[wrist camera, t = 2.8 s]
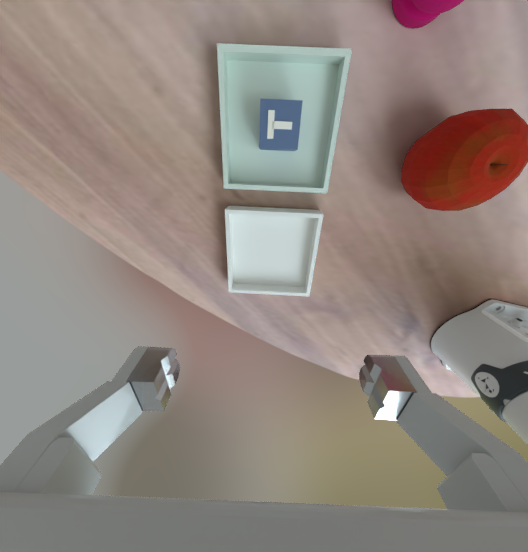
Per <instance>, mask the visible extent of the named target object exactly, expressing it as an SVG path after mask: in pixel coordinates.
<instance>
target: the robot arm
mask: <svg viewBox="0 0 528 552" xmlns="http://www.w3.org/2000/svg"><path fill="white" fill-rule="evenodd" d="M431 349H432V352H433V353H434V354H435V355H436V356H437V357H438V358H440V359H441V360H442V363H443V365H444V367H445V368H446V369H448V370H452V371H453V372H454V373H455V374H456V375H457V376H458V377H459V378H460V379H461V380H462V381H463V382H464V383H465V384H466V385H467V386H468V387H469V388H470V389H471V390H473V391H474V392H475V393H476V394H477V395H478V396H480V397H481V398H482V400H483V401H484V402H485V403H486V404H487V405H488V406H489V409H490V410H491V411H492V412H493V413H495V414H496V415H497V416H498V417H499V418H500V419H501V420H502V421H504V422H507V423H508V424H509V425H510V426H511V428H513V430H514V431H515V432H516V433H517V434H518V435H519V436H520V438H521V439H522V440H523V441H524V442H525V443H526V444H527V445H528V307H524V306H519V305H515V304H511V303H507V302H503V301H498V300H489V301H486V302H485V303H483V304H481V305H480V306H478V307H477V308H475V309H473V310H471V311H468V312H466V313H463V314H460V315H458V316H456V317H454V318H452V319H451V320H449V321H448V322H446V323H445V324H444V325H442V326H441V327H440V328H439V329H438V330H437V332H436V333H435V334H434V336H433V338H432V341H431ZM176 355H177V353H176V350H175V349H174V348H161V347H160V348H159V347H141V346H140V347H139V346H138V347H137V348H135V349H134V350H133V352H132V353H131V355H130V356H129V357H128V359H127V360H126V362H125V363H124V364H123V366H122V367H121V369H120V370H119V371H118V373H117V374H116V376H115V377H114V378H113V380H112V381H111V382H108V381H107V382H106V383H104V384H103V385H101V386H100V387H98V388H97V389H95V390H94V391H92V392H91V393H89V394H88V395H86V396H85V397H83V398H82V399H80V400H79V401H77V402H76V403H74V404H73V405H71V406H70V407H68V408H67V409H65V410H64V411H62V412H61V413H59V414H58V415H56V416H55V417H53V418H51V419H50V420H49V421H47V422H45V423H44V424H42V425H41V426H40V427H38V428H36V429H35V430H33V431H32V432H30V433H29V434H28V435H27V436H26V437H25V438H24V439H23V440H22V441H21V442H20V443H19V445H18V446H17V447H16V448H15V449H14V450H13V451H12V453H11V454H10V455H9V456H8V457H7V458H6V459H5V460H4V462H3V463H2V464H1V465H0V552H528V463H527V462H526V461H525V459H524V458H523V457H522V456H521V455H520V453H518V452H517V451H515V450H514V449H513V448H511V447H510V446H508V445H507V444H506V443H504V442H503V441H501V440H500V439H499V438H497V437H496V436H494V435H493V434H492V433H490V432H489V431H487V430H486V429H485V428H483V427H482V426H481V425H479V424H478V423H476V422H475V421H474V420H472V419H471V418H469V417H468V416H467V415H465V414H464V413H462V412H461V411H460V410H458V409H457V408H456V407H454V406H453V405H451V404H450V403H448V402H447V401H446V400H444V399H443V398H442V397H440V396H439V395H437V394H435V393H432V392H431V391H430V390H429V388H428V387H427V385H426V384H425V382H424V381H423V380H422V378H421V377H420V375H419V374H418V373H417V371H416V370H415V368H414V367H413V365H412V364H411V363H410V361H409V360H408V358H406V357H405V356H390V355H367V356H366V357H365V359H364V363H365V365H364V366H363V367H361V369H360V372H359V380H360V384H361V387H362V390H363V392H365V393H366V394H367V395H368V396H369V398H368V401H367V402H368V404H369V407H370V409H371V412H372V414H373V417H374V419H382V420H396V422H397V423H398V424H399V425H400V426H401V427H402V428H403V430H404V431H405V432H406V433H407V434H408V435H409V436H410V437H411V438H412V439H413V440H414V441H415V442H416V443H417V445H418V446H419V447H420V448H421V449H422V450H423V451H424V452H425V453H426V454H427V455H428V456H429V457H430V458H431V460H432V461H433V462H434V463H435V464H436V465H437V466H438V467H439V468H440V469H441V470H442V471H443V472H444V473H445V475H447V477H446V478H445V479H444V480H443V481H441V483H439V485H438V488H437V489H438V491H439V493H440V495H441V497H442V499H443V501H444V503H445V505H446V507H447V509H431V508H429V509H428V508H405V507H379V506H378V507H377V506H354V505H329V504H304V503H278V502H253V501H228V500H201V499H177V498H151V497H124V496H101V495H99V496H98V495H92V493H93V491H94V489H95V487H96V485H97V483H98V481H99V480H100V478H101V471H100V470H99V468H98V467H97V466H96V465H95V464H94V462H93V461H94V460H95V459H96V458H97V457H98V456H99V455H100V454H101V453H102V452H103V451H104V450H105V449H106V448H107V447H108V446H109V445H110V444H111V443H112V442H113V441H114V440H115V439H116V438H117V437H118V436H119V435H120V434H121V433H122V432H123V431H124V430H125V429H126V428H127V427H128V426H129V425H130V424H131V423H132V422H133V421H134V420H136V419H137V418H138V416H140V415H141V414H142V411H164V410H165V408H166V406H167V403H168V401H169V398H170V396H171V392H170V388H172V387H173V386H174V385H175V384H176V381H177V379H178V376H179V371H180V367H179V366H180V365H179V362H178V360H177V359H175V357H176Z"/></svg>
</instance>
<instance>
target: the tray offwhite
mask: <svg viewBox="0 0 528 552" xmlns="http://www.w3.org/2000/svg"><path fill="white" fill-rule="evenodd" d="M322 220H323V213H322V212H321V211H320V210H311V209H290V208H269V207H248V206H228V207H227V208H226V209H225V224H226V245H227V266H228V287H229V292H234V293H253V294H273V295H292V296H309V295H310V290H311V284H312V278H313V272H314V266H315V261H316V255H317V249H318V243H319V237H320V232H321V226H322Z"/></svg>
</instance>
